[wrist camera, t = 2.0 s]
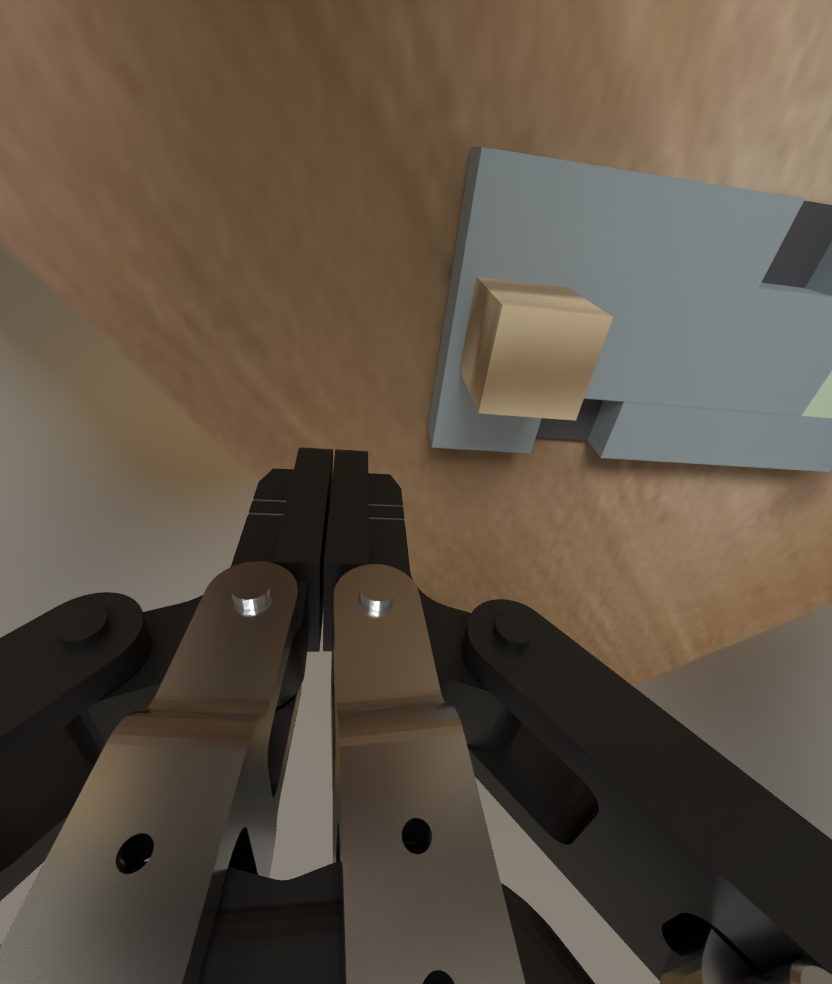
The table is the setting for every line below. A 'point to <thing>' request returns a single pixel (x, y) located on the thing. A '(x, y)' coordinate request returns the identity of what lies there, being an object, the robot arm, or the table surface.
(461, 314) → the plate
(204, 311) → the table surface
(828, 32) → the table surface
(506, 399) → the beech block
